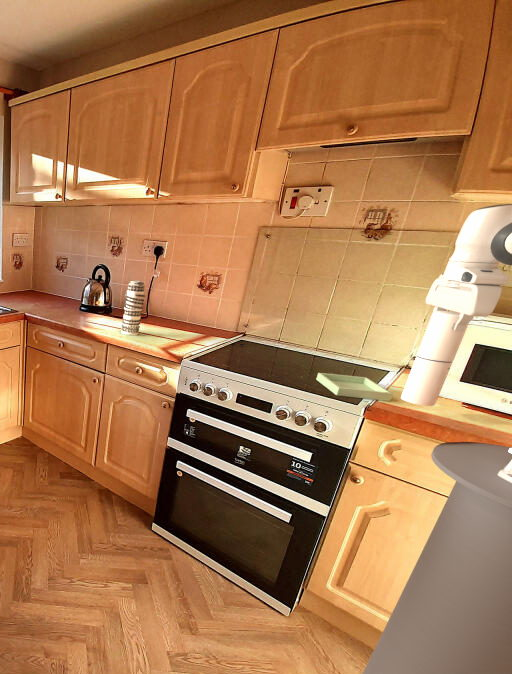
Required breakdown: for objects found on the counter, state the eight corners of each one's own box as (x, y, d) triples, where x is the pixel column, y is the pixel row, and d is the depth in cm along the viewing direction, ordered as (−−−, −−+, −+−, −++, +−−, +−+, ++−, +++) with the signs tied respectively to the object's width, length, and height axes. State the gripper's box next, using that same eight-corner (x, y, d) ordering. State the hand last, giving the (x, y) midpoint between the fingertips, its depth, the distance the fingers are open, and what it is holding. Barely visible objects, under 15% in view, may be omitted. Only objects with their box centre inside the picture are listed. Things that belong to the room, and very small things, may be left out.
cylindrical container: (393, 396, 122) (425, 310, 113) (416, 396, 123) (449, 310, 114) (419, 406, 115) (455, 315, 107) (442, 405, 116) (480, 315, 107)
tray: (390, 401, 132) (393, 393, 131) (336, 395, 135) (339, 387, 134) (363, 384, 146) (366, 377, 145) (316, 379, 149) (318, 372, 148)
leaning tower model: (140, 332, 210) (148, 280, 201) (138, 336, 202) (146, 282, 193) (121, 329, 213) (128, 279, 204) (118, 333, 205) (125, 281, 196)
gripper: (428, 269, 117) (410, 319, 122) (480, 277, 99) (456, 334, 104) (457, 271, 115) (437, 320, 120) (515, 278, 97) (489, 337, 102)
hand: (446, 327), depth 112 cm, fingers closed on cylindrical container, 7 cm apart
